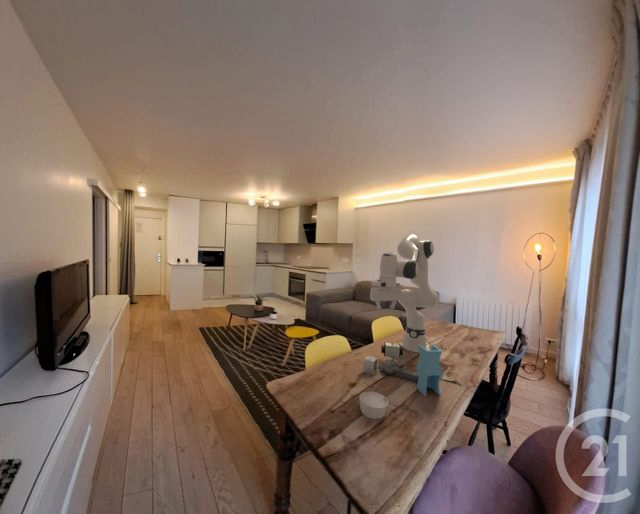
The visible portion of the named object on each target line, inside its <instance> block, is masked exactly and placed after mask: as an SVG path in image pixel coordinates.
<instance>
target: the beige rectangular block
mask: <svg viewBox="0 0 640 514" xmlns="http://www.w3.org/2000/svg"><path fill="white" fill-rule="evenodd" d="M362 369H363V371H362V373H364V374H367V375H369V376H374V375H375V374H376V373H377V371H378V357H374V356H371V355H367V356H366V357H365V358H364V359H363V368H362Z"/></svg>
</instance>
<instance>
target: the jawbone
mask: <svg viewBox="0 0 640 514" xmlns="http://www.w3.org/2000/svg"><path fill="white" fill-rule="evenodd" d="M451 369H452V367H451V366H448V367H447V368H446V370H444V371H441V372H442V376H441V379H440V380H442V381H447V382H452V383H453V384H457V382H458V383H461V384H463V381H462V380H460V379H459V378H452V377H449V374H450V373H451V372H450V371H451Z"/></svg>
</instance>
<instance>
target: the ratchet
mask: <svg viewBox="0 0 640 514" xmlns="http://www.w3.org/2000/svg"><path fill="white" fill-rule="evenodd" d="M392 359H393V358H391V357H387V356H386V359H385V362H382V363H381V364H380V373H381V374H382V375H385V376H388V377H398V378H401V379H405V380H409V381H412V382H416V383H418V373H417V371H412V370H407V369H404V368H400V367H398V366H397V365H396V364H392Z"/></svg>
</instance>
